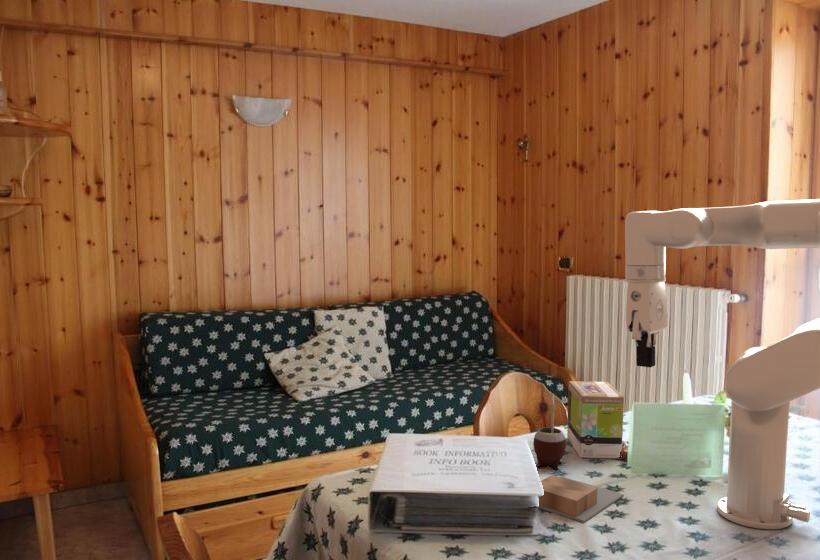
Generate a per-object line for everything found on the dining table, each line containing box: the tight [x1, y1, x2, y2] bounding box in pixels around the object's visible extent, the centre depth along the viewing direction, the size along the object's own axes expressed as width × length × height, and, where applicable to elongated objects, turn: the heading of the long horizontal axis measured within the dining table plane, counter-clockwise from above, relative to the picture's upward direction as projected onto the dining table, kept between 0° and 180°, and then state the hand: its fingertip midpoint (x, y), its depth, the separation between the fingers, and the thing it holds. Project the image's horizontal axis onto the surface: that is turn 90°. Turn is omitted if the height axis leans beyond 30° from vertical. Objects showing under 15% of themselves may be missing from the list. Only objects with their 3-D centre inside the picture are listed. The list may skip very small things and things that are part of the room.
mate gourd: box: [532, 393, 567, 472], centre depth 156 cm, size 8×8×15 cm
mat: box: [539, 476, 625, 524], centre depth 139 cm, size 14×16×1 cm
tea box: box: [566, 380, 625, 459], centre depth 168 cm, size 15×10×15 cm
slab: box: [539, 474, 597, 516], centre depth 136 cm, size 10×3×8 cm
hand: (645, 365), depth 140 cm, fingers closed
